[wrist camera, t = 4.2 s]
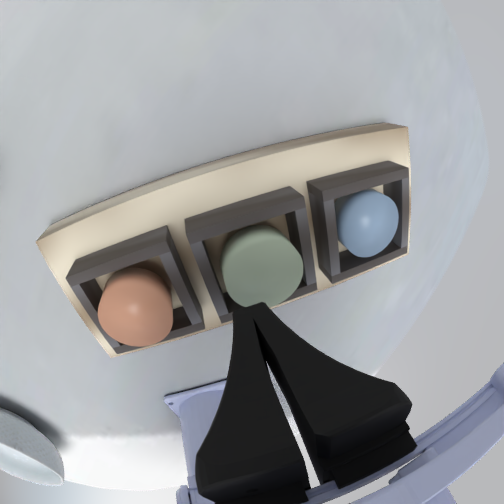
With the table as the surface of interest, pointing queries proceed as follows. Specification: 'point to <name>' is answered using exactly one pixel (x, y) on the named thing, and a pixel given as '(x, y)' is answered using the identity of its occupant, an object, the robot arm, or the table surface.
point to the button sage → (260, 266)
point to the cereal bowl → (28, 452)
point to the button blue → (366, 222)
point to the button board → (232, 224)
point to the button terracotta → (136, 307)
